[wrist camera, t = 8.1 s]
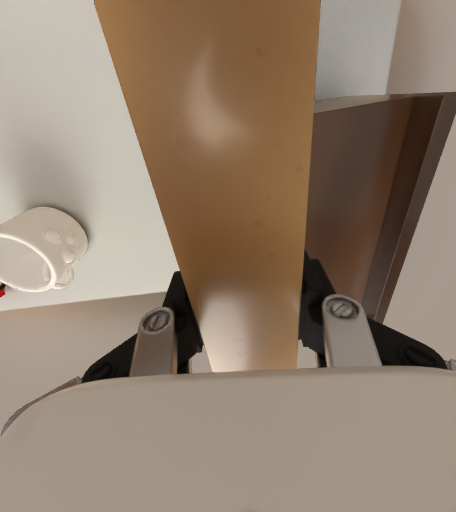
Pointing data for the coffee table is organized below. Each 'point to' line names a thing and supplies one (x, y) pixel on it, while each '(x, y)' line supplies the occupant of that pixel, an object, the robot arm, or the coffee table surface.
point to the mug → (40, 249)
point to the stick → (226, 156)
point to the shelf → (371, 187)
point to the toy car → (2, 289)
